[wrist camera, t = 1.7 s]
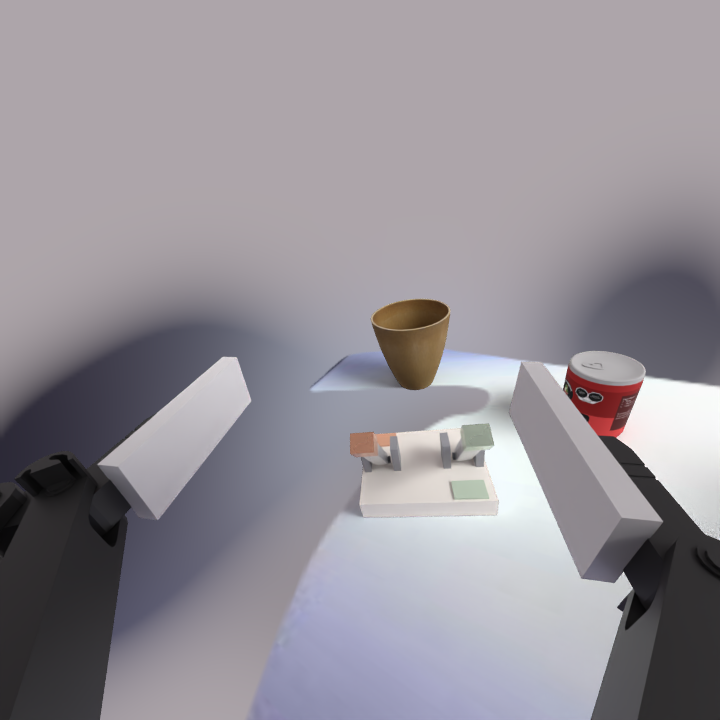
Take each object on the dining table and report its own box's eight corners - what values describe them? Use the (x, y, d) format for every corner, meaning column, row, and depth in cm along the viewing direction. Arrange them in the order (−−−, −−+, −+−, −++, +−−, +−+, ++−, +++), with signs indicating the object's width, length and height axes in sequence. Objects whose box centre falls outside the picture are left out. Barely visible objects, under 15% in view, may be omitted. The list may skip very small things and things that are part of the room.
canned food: (550, 406, 48) (561, 351, 42) (607, 407, 46) (627, 348, 40) (566, 441, 42) (582, 382, 36) (633, 444, 39) (661, 381, 34)
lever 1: (390, 452, 41) (373, 431, 28) (391, 467, 40) (374, 452, 27) (374, 453, 42) (350, 433, 29) (374, 468, 41) (350, 454, 28)
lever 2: (468, 448, 39) (489, 423, 26) (471, 463, 38) (494, 445, 25) (451, 449, 40) (462, 425, 27) (453, 464, 39) (466, 447, 26)
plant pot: (431, 411, 52) (424, 335, 44) (369, 389, 62) (355, 323, 54) (464, 369, 61) (463, 300, 53) (406, 356, 71) (398, 295, 63)
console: (473, 440, 45) (473, 405, 41) (497, 515, 35) (501, 477, 31) (369, 447, 48) (360, 415, 44) (363, 517, 38) (352, 483, 34)
